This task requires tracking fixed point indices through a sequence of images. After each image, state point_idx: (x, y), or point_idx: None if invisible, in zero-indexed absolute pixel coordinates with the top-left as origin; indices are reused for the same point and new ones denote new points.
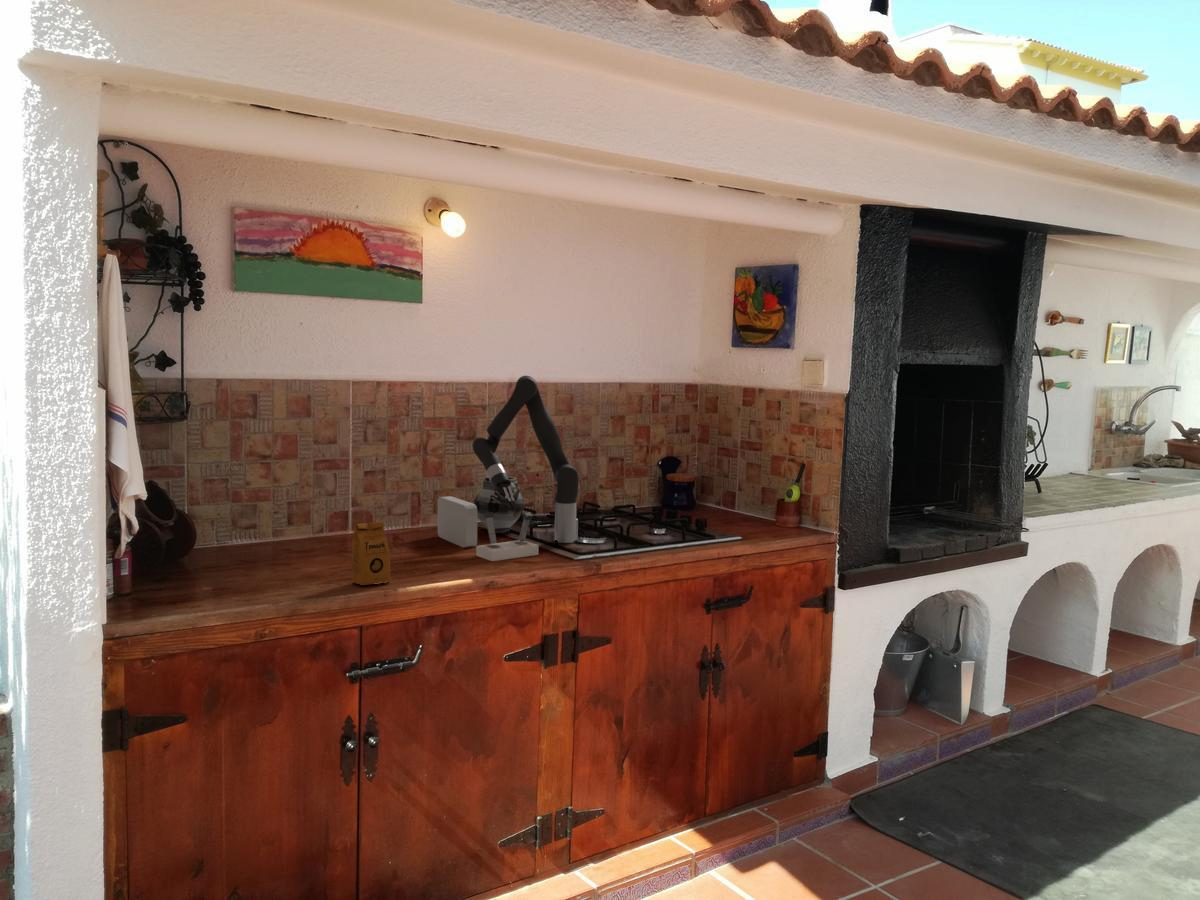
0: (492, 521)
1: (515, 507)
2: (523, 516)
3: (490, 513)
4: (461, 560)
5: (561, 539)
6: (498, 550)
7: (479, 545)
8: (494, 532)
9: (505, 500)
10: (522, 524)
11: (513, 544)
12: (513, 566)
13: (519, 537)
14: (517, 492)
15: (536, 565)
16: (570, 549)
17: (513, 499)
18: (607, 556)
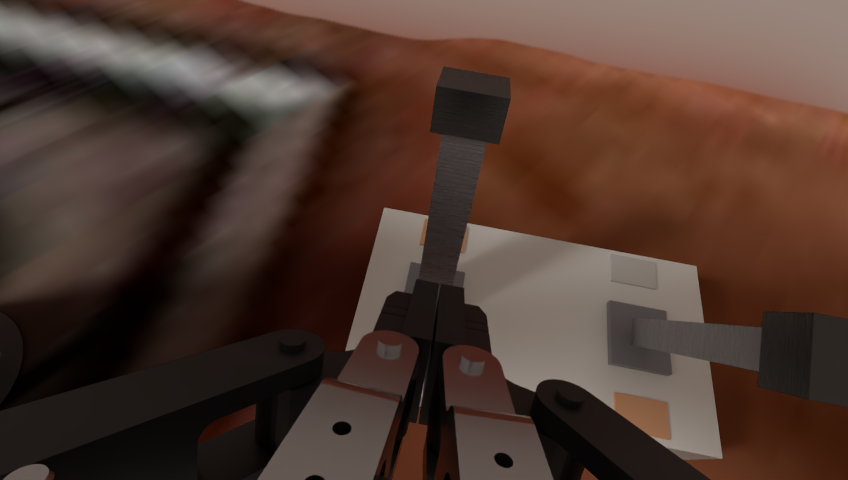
0: (747, 326)
1: (429, 283)
2: (501, 127)
3: (842, 320)
4: (809, 419)
5: (5, 343)
6: (653, 258)
7: (697, 452)
8: (678, 321)
9: (572, 387)
10: (472, 198)
11: (485, 313)
12: (626, 163)
13: (453, 281)
14: (57, 431)
15: (537, 119)
16: (171, 208)
17: (384, 340)
18: (212, 44)
